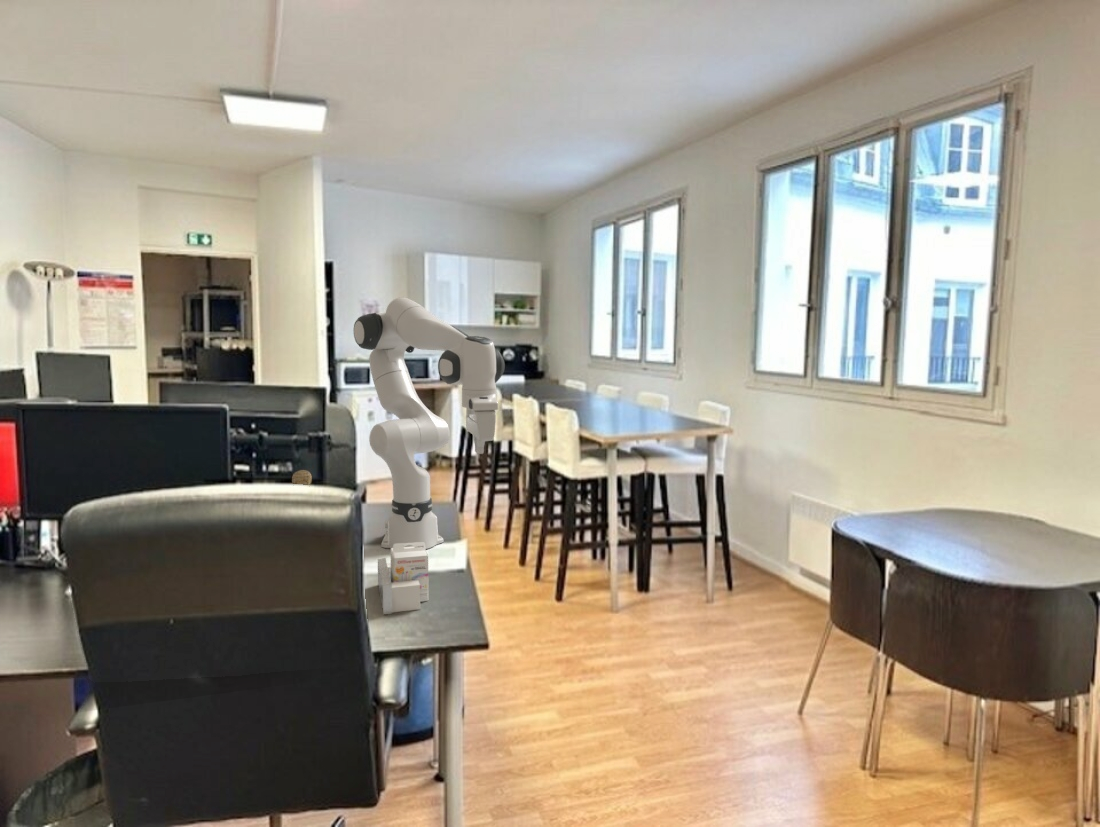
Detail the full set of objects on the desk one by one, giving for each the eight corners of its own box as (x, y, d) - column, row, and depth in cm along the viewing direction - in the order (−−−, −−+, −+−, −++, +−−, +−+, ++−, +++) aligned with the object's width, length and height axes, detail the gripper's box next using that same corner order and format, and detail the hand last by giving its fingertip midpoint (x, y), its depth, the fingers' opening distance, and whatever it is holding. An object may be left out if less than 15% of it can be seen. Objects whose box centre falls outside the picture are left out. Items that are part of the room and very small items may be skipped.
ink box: (393, 605, 174) (392, 551, 172) (390, 592, 182) (389, 541, 180) (429, 601, 177) (428, 548, 175) (424, 589, 185) (424, 538, 183)
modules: (386, 585, 187) (385, 563, 186) (412, 583, 189) (411, 560, 188) (392, 612, 170) (391, 587, 169) (420, 609, 172) (419, 585, 171)
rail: (378, 585, 187) (377, 558, 186) (386, 584, 188) (385, 558, 187) (383, 614, 168) (382, 586, 167) (392, 613, 169) (391, 585, 168)
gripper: (460, 396, 195) (460, 446, 197) (474, 404, 175) (474, 460, 177) (483, 395, 197) (483, 445, 198) (499, 404, 177) (499, 459, 179)
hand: (479, 453), depth 188 cm, fingers closed
